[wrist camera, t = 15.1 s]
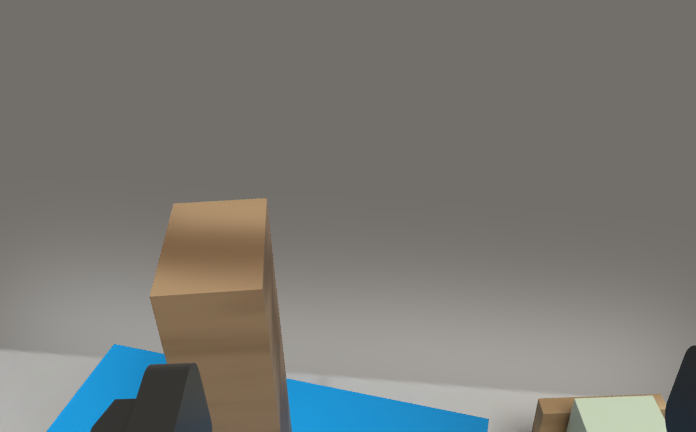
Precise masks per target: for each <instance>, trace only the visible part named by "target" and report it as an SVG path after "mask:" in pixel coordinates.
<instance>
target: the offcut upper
mask: <svg viewBox="0 0 696 432" xmlns="http://www.w3.org/2000/svg"><path fill="white" fill-rule="evenodd" d="M566 432H667V430H666V424H665V419H664V417H663V415H662V413H661V411H660V409H659V407H658V405H657V403H656V401H655V399H654V397H653V396H627V397H600V398H574V402H573V406H572V410H571V414H570V418H569V422H568V426H567V430H566Z"/></svg>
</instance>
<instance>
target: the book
mask: <svg viewBox="0 0 696 432" xmlns="http://www.w3.org/2000/svg"><path fill="white" fill-rule="evenodd" d="M151 364H167V362H166V358H165V354H161V353H156V352H151V351H146V350H141V349H135V348H131V347H126V346H121V345H116V344H114V345H113V346H112V348H111V349H110V350H109V352H108V353H107V354H106V355H105V357H104V358H103V359H102V360H101V362H100V363H99V364H98V366H97V367H96V368H95V370H94V371H93V372H92V373H91V375H90V376H89V377H88V379H87V380H86V381H85V382H84V384H83V385H82V386H81V388H80V389H79V390H78V391H77V393H76V394H75V395H74V397H73V398H72V399H71V401H70V402H69V403H68V404H67V406H66V407H65V408H64V410H63V411H62V412H61V413H60V415H59V416H58V417H57V419H56V420H55V421H54V423H53V424H52V425H51V426H50V428H49V429H48V430H47V432H90V431H91V429H92V426H93V425H94V424H95V423H96V422H97V420H98V419H99V418H100V417H101V416H102V414H103V413H104V412H105V411H106V410H107V408H108V407H109V406H110V405H111V403H112V402H113V401H114V400H115V399H136V397H137V394H138V391H139V387H140V384H141V381H142V378H143V375H144V372H145V370H146V368H147V367H148V366H149V365H151ZM286 381H287V391H288V400H289V409H290V418H291V427H292V432H487V429H488V421H489V419H486V418H481V417H476V416H471V415H466V414H461V413H456V412H451V411H446V410H441V409H436V408H431V407H426V406H421V405H416V404H411V403H406V402H401V401H396V400H391V399H386V398H381V397H376V396H371V395H366V394H361V393H356V392H351V391H346V390H341V389H336V388H331V387H326V386H321V385H316V384H311V383H306V382H301V381H296V380H291V379H286Z"/></svg>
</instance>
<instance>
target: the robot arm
mask: <svg viewBox="0 0 696 432" xmlns="http://www.w3.org/2000/svg"><path fill="white" fill-rule="evenodd" d="M665 424H666V430H667V432H696V346H691V347H690V348H689V349H688V350H687V351H686V354H685V356H684V359H683V361H682V364H681V367H680V369H679V372H678V374H677V377H676V380H675V383H674V385H673V388H672V391H671V393H670V396H669V399H668V401H667V404H666V408H665ZM90 432H212V422H211V417H210V413H209V409H208V405H207V401H206V397H205V393H204V389H203V385H202V380H201V376H200V372H199V369H198V366H197V364H196V363H174V364H151V365H149V366H148V367H147V368H146V370H145V372H144V375H143V378H142V381H141V384H140V387H139V391H138V394H137V397H136V399H115V400H114V401H113V402H112V403H111V405H110V406H109V407H108V408H107V410H106V411H105V412H104V413H103V414H102V416H101V417H100V418H99V419H98V420H97V422H96V423H95V424H94V425H93V426H92V429H91V431H90Z"/></svg>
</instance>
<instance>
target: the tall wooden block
mask: <svg viewBox="0 0 696 432" xmlns="http://www.w3.org/2000/svg"><path fill="white" fill-rule="evenodd" d="M150 300H151V304H152V308H153V311H154V315H155V319H156V323H157V327H158V331H159V335H160V339H161V342H162V347H163V350H164V354H165V358H166V362H167V364H174V363H196V364H197V366H198V369H199V372H200V376H201V380H202V385H203V389H204V393H205V397H206V401H207V405H208V409H209V413H210V417H211V422H212V432H292V427H291V418H290V409H289V400H288V391H287V381H286V372H285V363H284V356H283V355H284V354H283V345H282V335H281V326H280V317H279V308H278V300H277V290H276V280H275V272H274V263H273V253H272V244H271V234H270V226H269V217H268V207H267V199H266V198H264V199H263V198H262V199H245V200H228V201H211V202H194V203H177V204H173V209H172V212H171V216H170V220H169V224H168V227H167V231H166V235H165V239H164V243H163V247H162V251H161V255H160V258H159V263H158V266H157V270H156V274H155V278H154V282H153V286H152V290H151V293H150Z"/></svg>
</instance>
